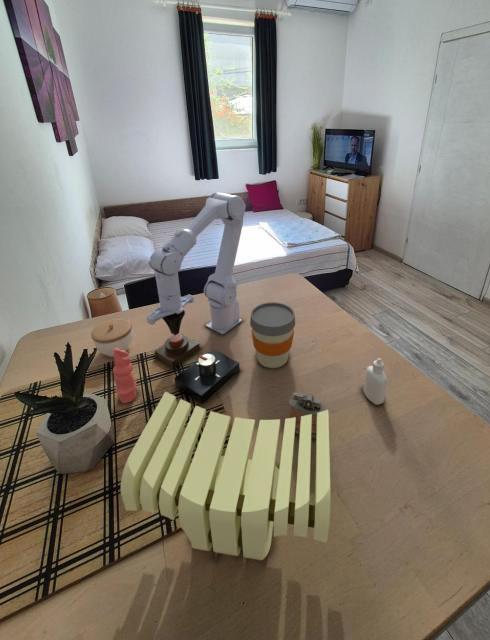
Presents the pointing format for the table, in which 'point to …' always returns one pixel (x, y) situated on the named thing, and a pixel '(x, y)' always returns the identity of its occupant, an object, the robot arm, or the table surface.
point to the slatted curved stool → (228, 478)
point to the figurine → (123, 376)
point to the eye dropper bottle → (375, 382)
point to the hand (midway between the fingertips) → (175, 333)
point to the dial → (207, 364)
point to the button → (176, 340)
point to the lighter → (305, 410)
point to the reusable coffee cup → (272, 333)
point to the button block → (176, 351)
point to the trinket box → (112, 336)
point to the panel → (207, 378)
